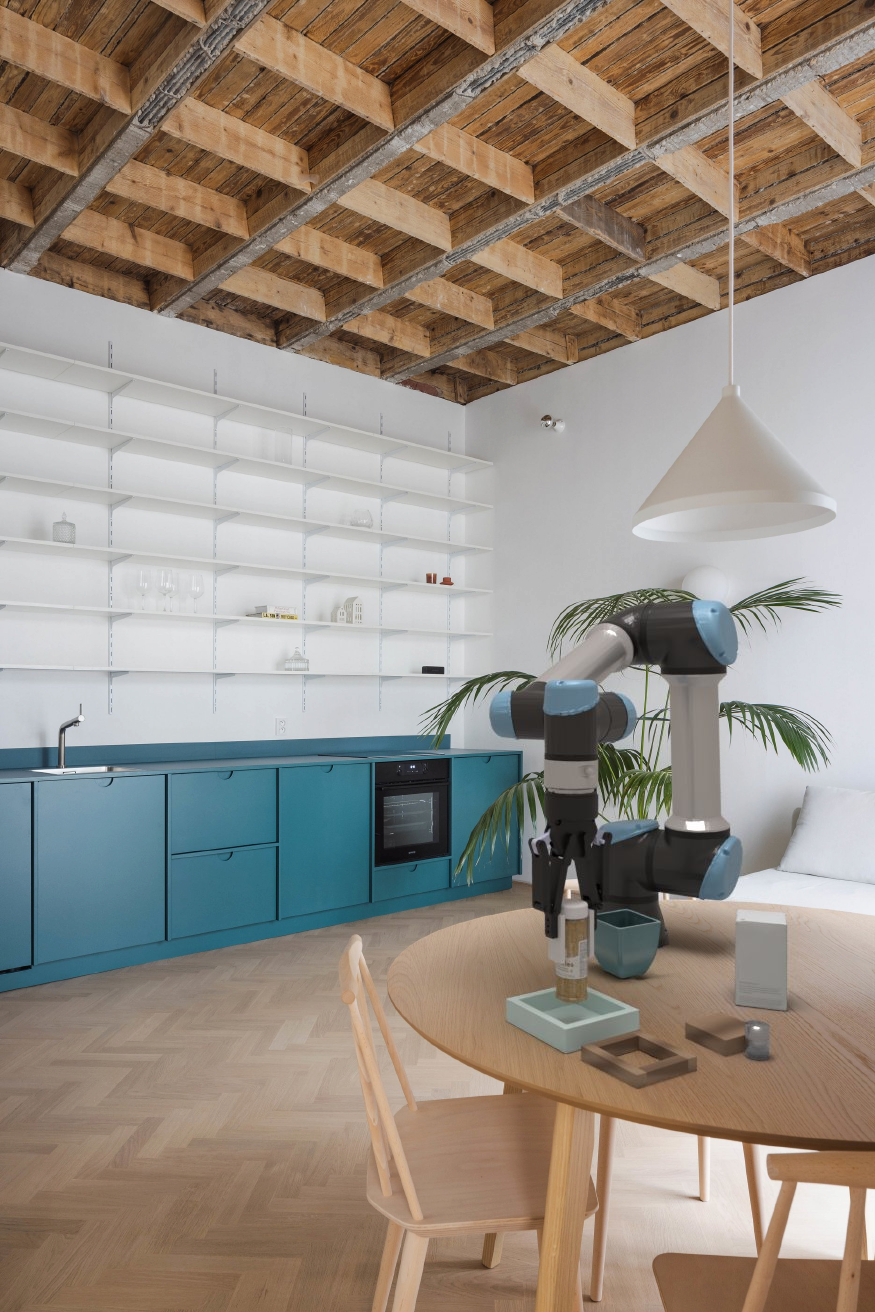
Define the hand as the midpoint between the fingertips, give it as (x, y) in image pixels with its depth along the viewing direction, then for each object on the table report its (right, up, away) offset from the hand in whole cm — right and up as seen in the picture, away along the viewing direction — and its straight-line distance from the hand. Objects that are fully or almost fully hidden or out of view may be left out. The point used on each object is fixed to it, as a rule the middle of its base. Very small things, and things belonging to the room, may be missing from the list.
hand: (571, 957), depth 126 cm
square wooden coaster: (+20, -10, -5) cm, 23 cm away
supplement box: (+30, -10, +10) cm, 33 cm away
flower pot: (+12, -10, +23) cm, 27 cm away
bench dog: (+22, -9, -10) cm, 26 cm away
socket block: (+7, -9, -13) cm, 17 cm away
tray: (0, -10, 0) cm, 10 cm away
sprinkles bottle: (0, -6, 0) cm, 6 cm away
